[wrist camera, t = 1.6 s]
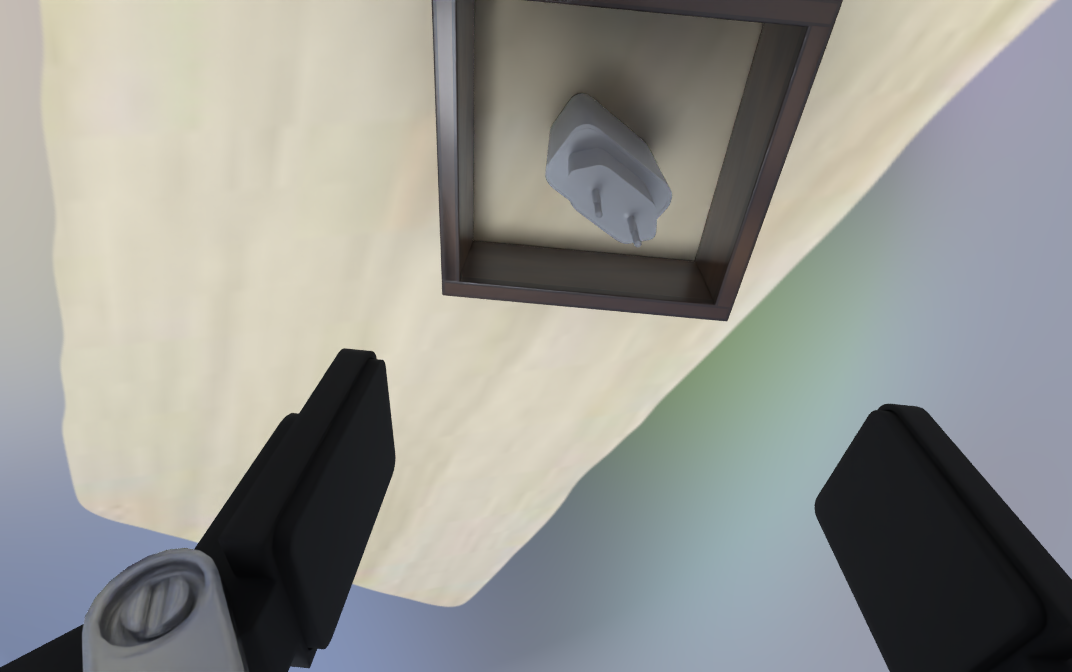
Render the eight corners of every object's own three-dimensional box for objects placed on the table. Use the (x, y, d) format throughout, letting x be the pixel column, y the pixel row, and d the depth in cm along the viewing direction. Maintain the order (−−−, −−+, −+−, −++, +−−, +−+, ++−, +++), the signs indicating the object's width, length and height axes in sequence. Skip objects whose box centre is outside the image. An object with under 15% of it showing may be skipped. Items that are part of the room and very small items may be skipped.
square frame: (456, -36, 23) (429, -41, 19) (790, -4, 23) (844, -2, 19) (459, 251, 32) (442, 295, 27) (704, 274, 32) (727, 322, 27)
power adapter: (618, 194, 29) (644, 299, 19) (543, 136, 28) (532, 219, 18) (655, 150, 28) (705, 241, 18) (579, 86, 26) (587, 147, 16)
